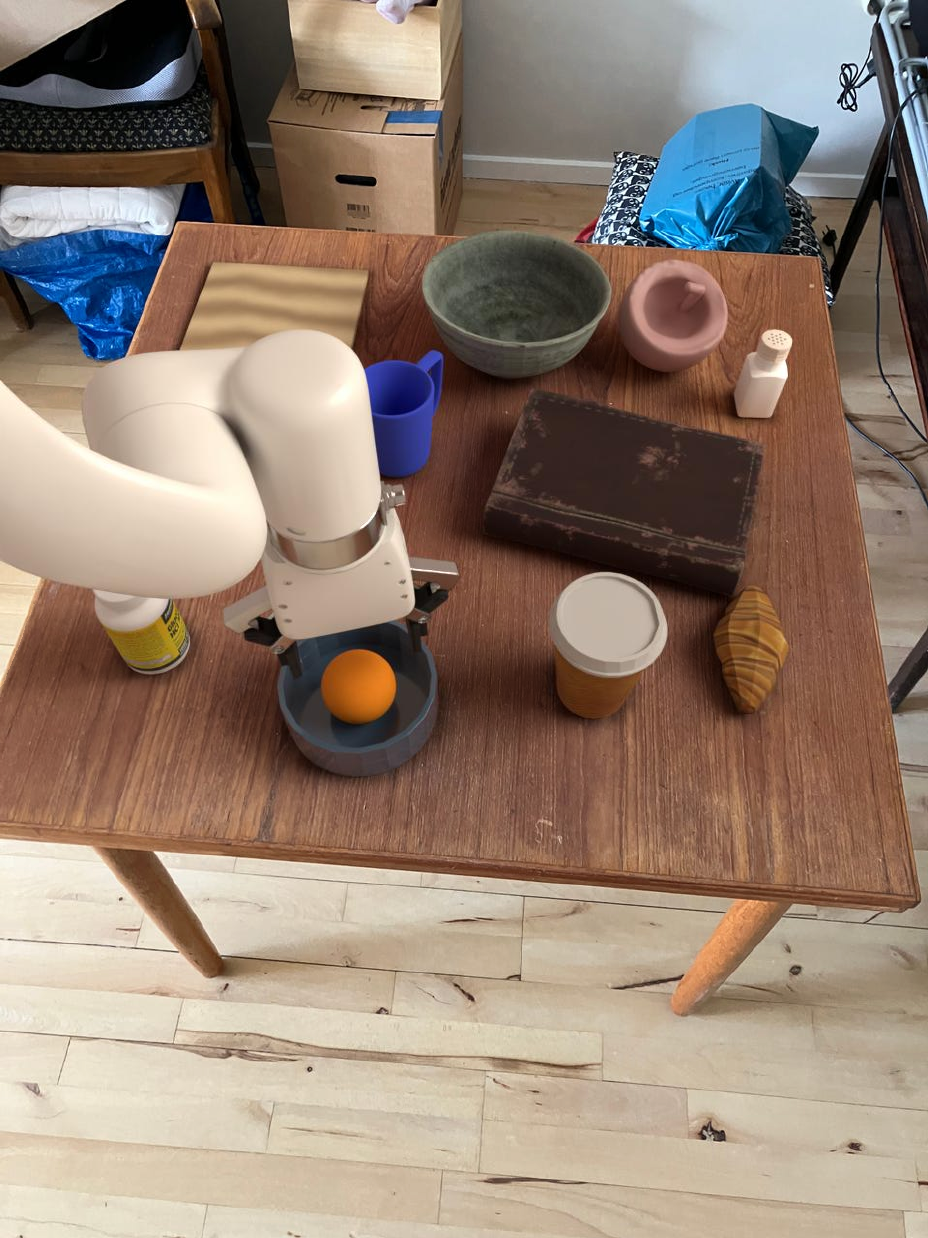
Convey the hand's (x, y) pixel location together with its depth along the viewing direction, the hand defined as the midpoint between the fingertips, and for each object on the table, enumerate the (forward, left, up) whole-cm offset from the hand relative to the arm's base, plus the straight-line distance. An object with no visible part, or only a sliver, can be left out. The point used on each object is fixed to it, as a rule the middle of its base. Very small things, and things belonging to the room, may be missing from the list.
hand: (355, 650), depth 71 cm
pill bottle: (-18, +10, -10) cm, 23 cm away
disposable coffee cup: (+20, -3, -10) cm, 23 cm away
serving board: (-4, +45, -10) cm, 46 cm away
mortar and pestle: (+42, +37, -10) cm, 57 cm away
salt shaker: (+49, +27, -10) cm, 57 cm away
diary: (+30, +17, -10) cm, 36 cm away
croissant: (+35, -3, -10) cm, 37 cm away
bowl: (+25, +42, -10) cm, 50 cm away
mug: (+10, +30, -10) cm, 33 cm away
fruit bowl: (0, 0, -10) cm, 10 cm away
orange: (0, 0, -6) cm, 6 cm away
